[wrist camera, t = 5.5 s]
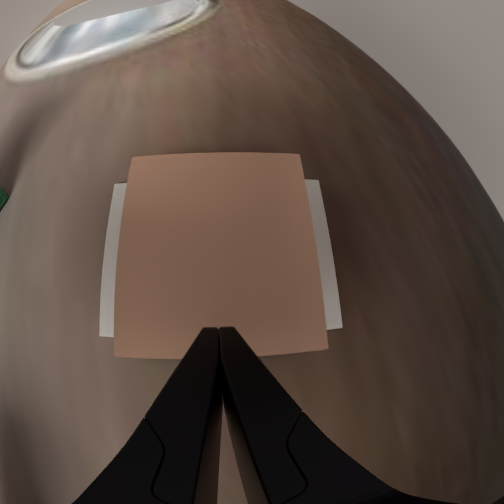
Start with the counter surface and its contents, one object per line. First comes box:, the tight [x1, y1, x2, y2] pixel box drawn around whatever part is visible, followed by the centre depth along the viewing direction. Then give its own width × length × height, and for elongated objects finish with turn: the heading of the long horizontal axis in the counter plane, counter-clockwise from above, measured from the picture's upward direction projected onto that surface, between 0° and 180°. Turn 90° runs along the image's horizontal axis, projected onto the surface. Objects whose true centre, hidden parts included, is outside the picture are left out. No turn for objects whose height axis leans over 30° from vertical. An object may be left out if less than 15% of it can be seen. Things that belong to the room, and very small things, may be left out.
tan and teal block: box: [114, 152, 328, 359], centre depth 14 cm, size 4×9×10 cm
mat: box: [99, 179, 343, 337], centre depth 17 cm, size 10×14×1 cm
